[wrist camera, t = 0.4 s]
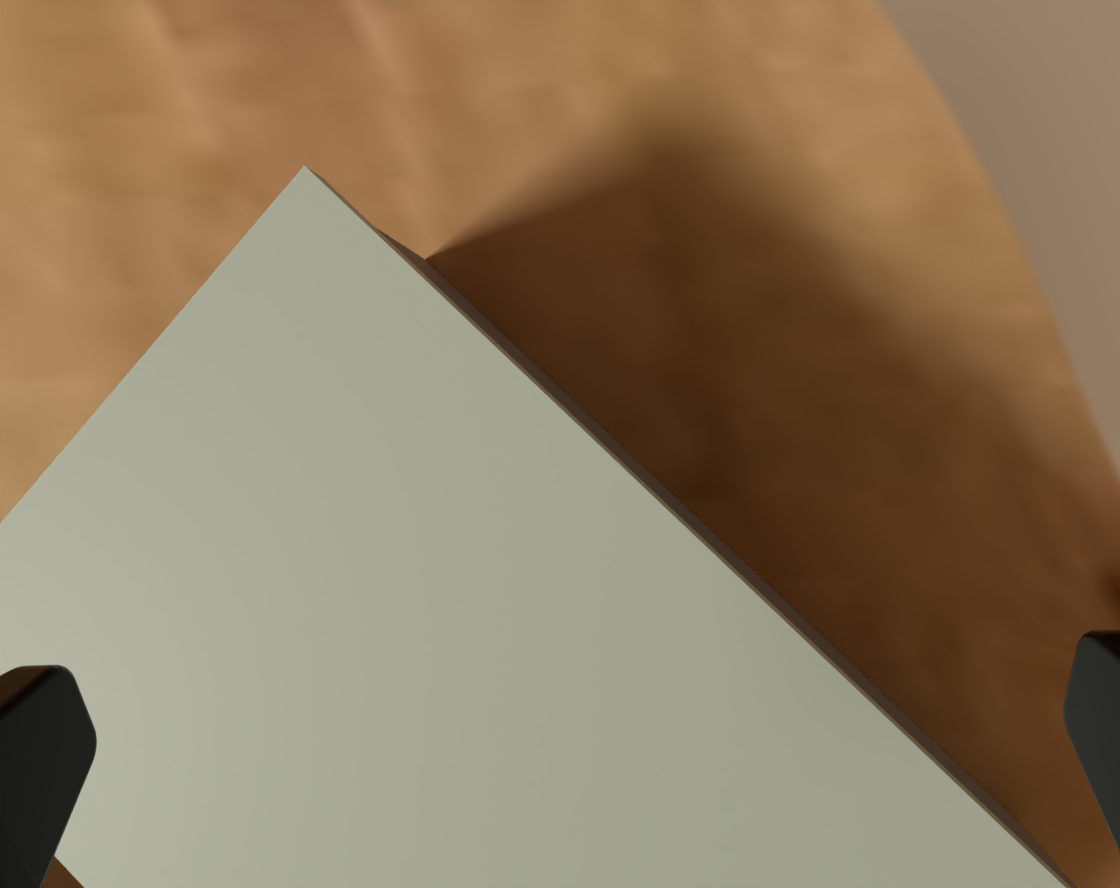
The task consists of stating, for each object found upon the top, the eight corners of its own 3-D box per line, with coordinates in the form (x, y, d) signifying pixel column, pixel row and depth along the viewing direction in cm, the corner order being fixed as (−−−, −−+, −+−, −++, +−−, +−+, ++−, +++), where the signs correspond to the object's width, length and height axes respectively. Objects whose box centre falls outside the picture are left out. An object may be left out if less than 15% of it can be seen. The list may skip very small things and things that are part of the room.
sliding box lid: (1198, 1008, 14) (1396, 1229, 10) (671, 1457, 15) (673, 1798, 11) (323, 178, 15) (210, 100, 12) (-85, 655, 17) (-305, 725, 13)
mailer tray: (1020, 823, 20) (1168, 994, 14) (670, 1143, 21) (671, 1422, 15) (423, 258, 22) (330, 198, 16) (130, 591, 23) (-59, 652, 17)
